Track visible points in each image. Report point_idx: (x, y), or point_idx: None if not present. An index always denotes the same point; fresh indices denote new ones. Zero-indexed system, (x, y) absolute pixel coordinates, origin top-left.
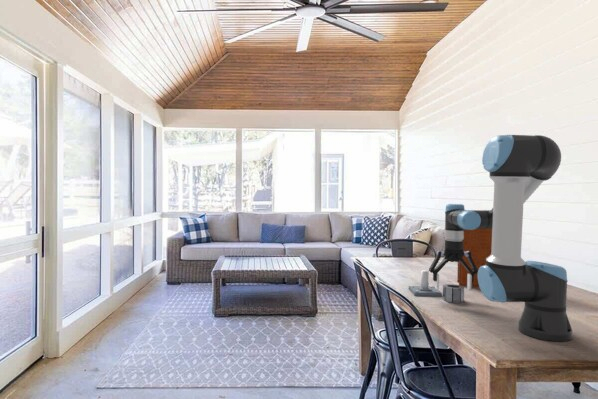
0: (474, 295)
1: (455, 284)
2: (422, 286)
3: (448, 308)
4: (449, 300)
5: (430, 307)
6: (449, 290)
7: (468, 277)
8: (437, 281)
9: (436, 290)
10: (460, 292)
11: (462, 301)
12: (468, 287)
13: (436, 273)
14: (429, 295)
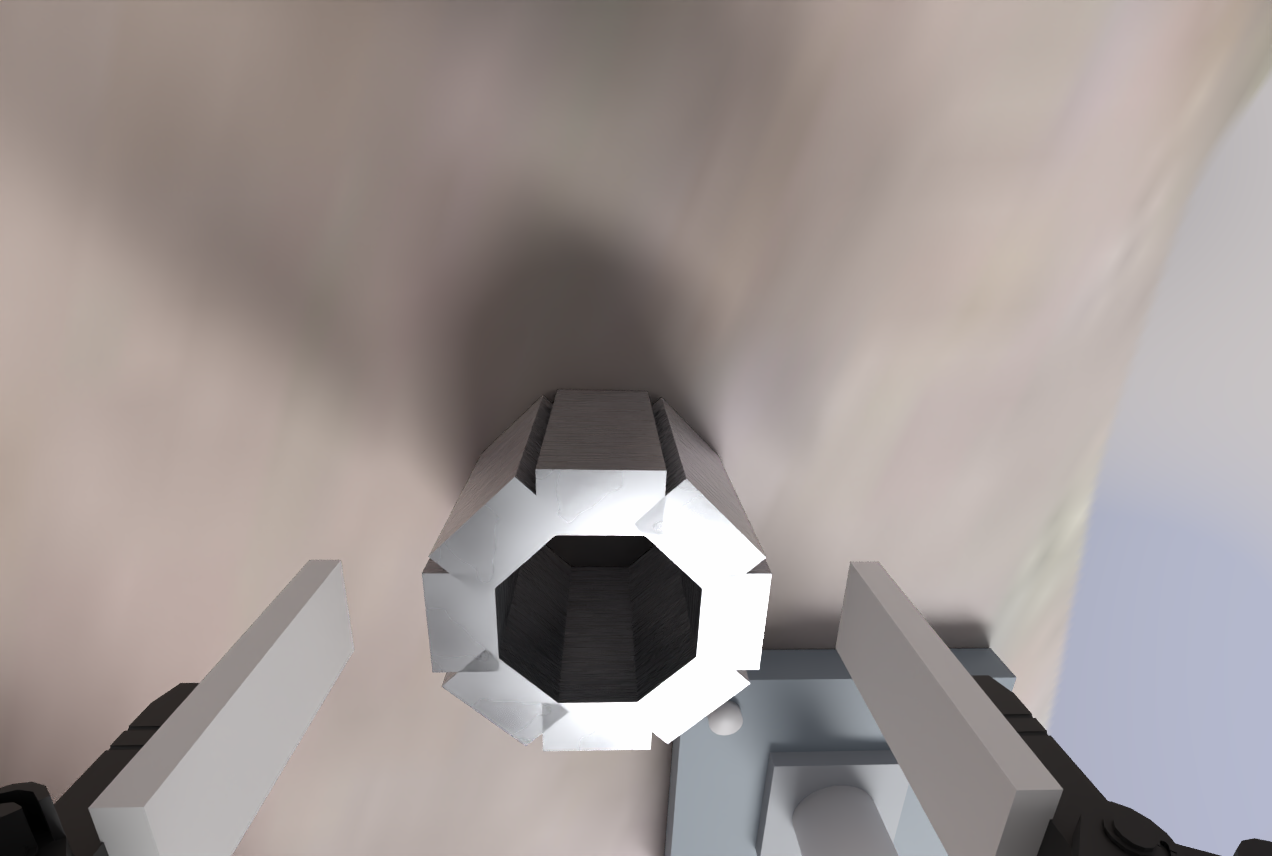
0: None
1: (517, 738)
2: (882, 821)
3: (827, 97)
4: (685, 428)
5: (1063, 141)
6: (711, 489)
7: (223, 791)
8: (944, 654)
9: (707, 771)
10: (531, 451)
11: (508, 430)
12: (331, 620)
13: (1096, 818)
14: (824, 655)
